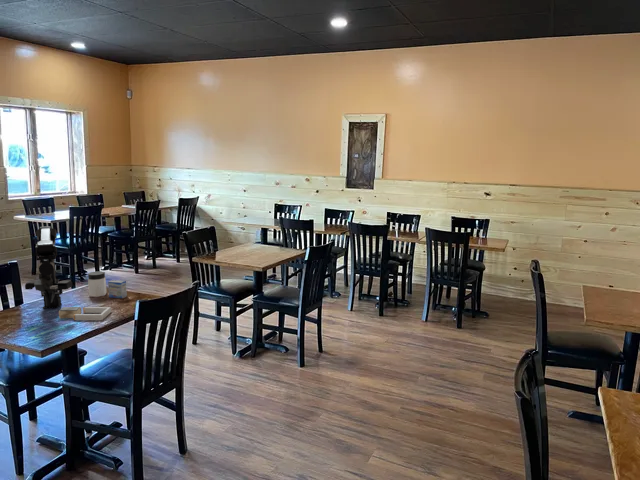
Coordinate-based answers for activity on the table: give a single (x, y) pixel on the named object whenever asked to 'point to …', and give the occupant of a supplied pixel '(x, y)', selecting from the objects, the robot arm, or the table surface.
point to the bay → (102, 310)
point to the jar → (97, 284)
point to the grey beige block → (69, 312)
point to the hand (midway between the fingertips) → (50, 302)
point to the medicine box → (117, 289)
